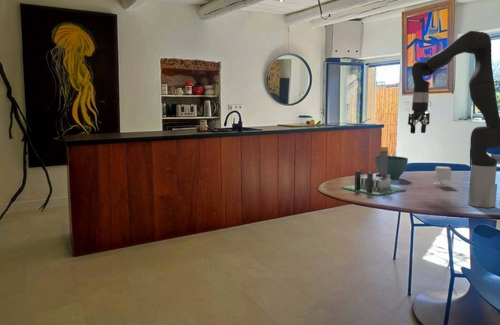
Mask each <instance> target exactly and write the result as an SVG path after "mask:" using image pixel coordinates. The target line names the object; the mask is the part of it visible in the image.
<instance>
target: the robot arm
mask: <svg viewBox="0 0 500 325" xmlns="http://www.w3.org/2000/svg"><path fill="white" fill-rule="evenodd" d="M465 53H466V54H471V55H472V54H473V55H474V60H475V68H474V71H473V72H472V75H471V77H470V80H469V83H468V86H469V87H468V88H469V94H470V96H469V97H470V99H471V101H472V103H473V104H474V106H475V107H476V109H478V111H479V112H480V113H481V115H482V116H483V118H484V121H485V126H476V127H475V128H474V129H473V130H472V131H471V133H470V144H469V145H470V147H469V148H470V150H469V151H470V152H469V153H470V154H469V155H470V156H469V157H470V161H471V163H470V174H469V188H468V200H467V204H468V206H473V207H476V208H485V209H490V208H494V207H496V205H497V204H496V203H497V191H498V183H496V177H497V167H498V166H497V165H498V159H497V158H495V157H493V156H491V155H489V154H488V152H487V150H488V149H490V150H492V149H493V150H494V149H495V150H496V149H499V148H500V112H499V106H498V101H497V95H496V94H497V93H496V84H495V80H494V72H493V63H492V61H493V60H492V39H491V36H490V35H489V34H488V32H484V31H478V30H469V31H466V32H465V33H463V34H462V35H460V36H459V37H458V38H457V39H455V40H454V41H453V42H451V43H450V44H448V46H446V47H445V48H444V49H442V50H440V51H439V52H437V53H435V54H433V55H431V56H429V58H428V59H427V60H426V61H416V62H414V63H413V65H412V67H411V75H412V80H413V81H412V82H413V94H412V95H413V96H412V103H411V110H412V111H413V112H409V113H408V119H407V120H408V121H407V125H409V126H410V134H413V135H414V134H416V126H417V124H418V123H420V125H421V128H420V133H422V134H426V131H427V126H428V125H430V119H431V118H430V116H431V114H430V112H427V111H428V109H429V101H430V100H429V98H430V97H429V91H430V83H429V81H427V80H425V79H424V77H428V76H431V75H434V73H436V72H437V71H438V70H440V69H441V68H443V67H445V66H447V65H448V64H450V62H452V60H453V59H454V57H456V56H457V55H460V54H465Z"/></svg>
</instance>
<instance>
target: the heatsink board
mask: <svg viewBox="0 0 500 325" xmlns="http://www.w3.org/2000/svg"><path fill="white" fill-rule="evenodd" d="M361 174H362V173H361V170H355V171H354V184H353V185H346V186H342V187H341V189H343V190H347V191H350V192H351V191H352V192H356V193H360V194H361V193H362V194H364V195H365V194H366V195H369V196H374V197H382V196H386V195H390V194H396V193H397V194H398V193H402V192H406V191H407V189H406V188H400V187H395V186H391V185H392V184H391V183H392V179H390V175H386V178H383V177H379V176H378V175H379V172H377V173H375V175H374V172H367V173H366V176H361ZM373 175H374V176H373Z"/></svg>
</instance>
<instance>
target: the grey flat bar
mask: <svg viewBox="0 0 500 325" xmlns="http://www.w3.org/2000/svg"><path fill="white" fill-rule="evenodd" d="M379 147H380V148H379V156H380V164H379V172H378V173H379V175H378V176H379V177H380V178H383V177H384V178H386V175H387V161H388V156H389V147H388V146H379Z"/></svg>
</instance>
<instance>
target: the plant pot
mask: <svg viewBox="0 0 500 325" xmlns="http://www.w3.org/2000/svg"><path fill="white" fill-rule="evenodd" d="M374 157H375V158H374V161H375V166H376V169H377V173H379V164H380V155H377V156H374ZM408 162H409V159H408V157H403V156H396V155H395V156H394V155H388V161H387V175H390V179H391V180H398V179H399V178H400V177H401V176H402V175H403V173H404V172H405V170H406V169H407V166H408ZM382 178H384V177H382Z"/></svg>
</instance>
